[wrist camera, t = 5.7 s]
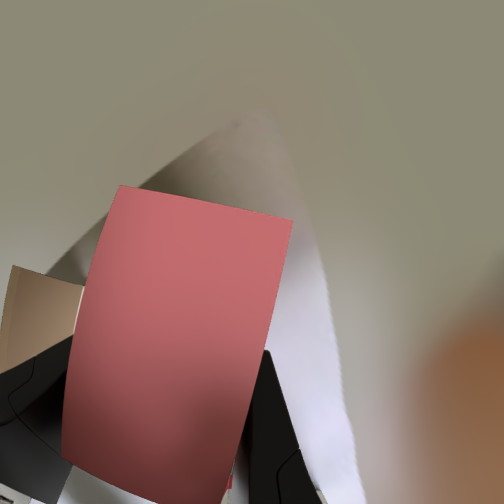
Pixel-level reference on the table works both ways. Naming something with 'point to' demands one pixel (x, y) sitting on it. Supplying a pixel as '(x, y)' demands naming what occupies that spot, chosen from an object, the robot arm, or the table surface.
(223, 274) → the book
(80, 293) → the book rack
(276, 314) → the table surface
